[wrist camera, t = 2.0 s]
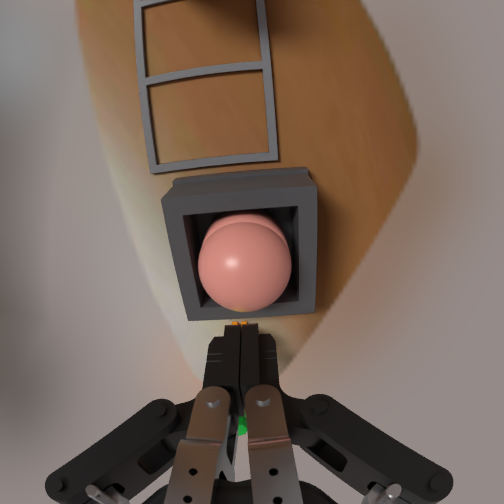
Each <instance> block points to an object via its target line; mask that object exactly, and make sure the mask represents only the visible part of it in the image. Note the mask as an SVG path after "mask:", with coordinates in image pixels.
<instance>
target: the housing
mask: <svg viewBox="0 0 504 504" xmlns="http://www.w3.org/2000/svg"><path fill="white" fill-rule="evenodd" d="M161 203H162V208H163V213H164V218H165V223H166V228H167V233H168V238H169V243H170V247H171V252H172V256H173V261H174V265H175V270H176V274H177V278H178V282H179V287H180V291H181V295H182V299H183V303H184V306H185V310H186V314H187V318H188V321H199V320H222V319H240V318H256V317H270V316H282V315H294V314H305V313H315V296H316V269H317V185H316V184H315V183H314V182H313V180H312V179H311V178H310V177H309V176H308V169H307V168H306V167H293V168H276V169H261V170H248V171H237V172H226V173H216V174H207V175H198V176H190V177H181V178H175V179H174V180H173V187H172V188H171V189H170V190H169V191H168V192H167V193H166V194H165V195H164V197H163V198H162V199H161ZM246 209H262V210H264V211H266V212H268V213H269V214H271V215H272V216H273V217H274V218H275V219H277V221H278V222H279V223H280V225H281V226H282V228H283V230H284V233H285V237H286V241H287V245H288V248H289V252H290V256H291V274H290V279H289V281H288V284H287V286H286V288H285V290H284V291H283V293H282V294H281V295H280V296H279V298H278V299H277V300H275V301H274V302H273V303H272V304H270V305H268V306H267V307H265V308H263V309H260V310H257V311H252V312H238V311H233V310H230V309H227V308H225V307H223V306H221V305H219V304H218V303H217V302H215V301H214V300H213V299H212V298H211V297H210V296H209V295H208V293H207V292H206V290H205V289H204V287H203V285H202V283H201V280H200V277H199V270H198V260H199V254H200V251H201V248H202V244H203V241H204V238H205V235H206V232H207V229H208V228H209V226H210V224H211V223H212V221H213V220H214V219H215V218H216V217H217V216H218V215H220V214H221V213H223V212H224V211H234V210H246Z"/></svg>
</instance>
